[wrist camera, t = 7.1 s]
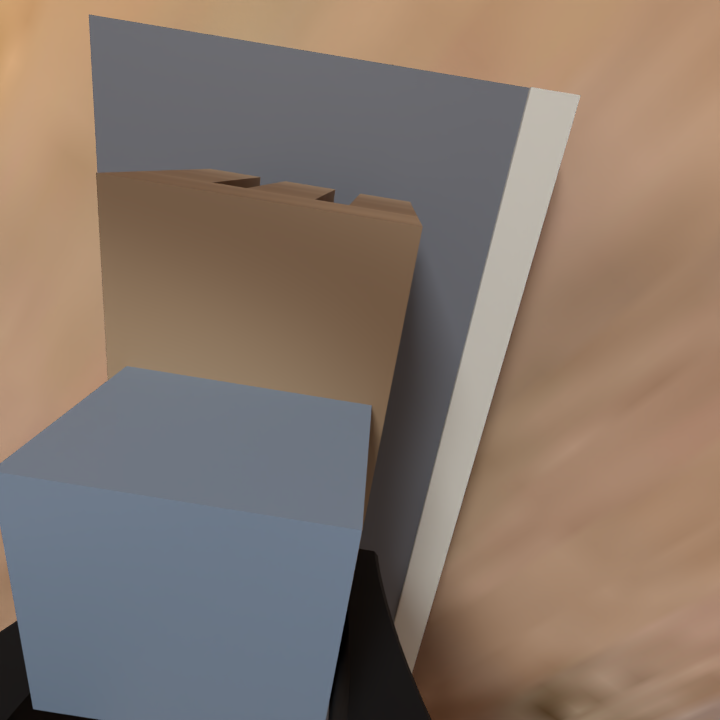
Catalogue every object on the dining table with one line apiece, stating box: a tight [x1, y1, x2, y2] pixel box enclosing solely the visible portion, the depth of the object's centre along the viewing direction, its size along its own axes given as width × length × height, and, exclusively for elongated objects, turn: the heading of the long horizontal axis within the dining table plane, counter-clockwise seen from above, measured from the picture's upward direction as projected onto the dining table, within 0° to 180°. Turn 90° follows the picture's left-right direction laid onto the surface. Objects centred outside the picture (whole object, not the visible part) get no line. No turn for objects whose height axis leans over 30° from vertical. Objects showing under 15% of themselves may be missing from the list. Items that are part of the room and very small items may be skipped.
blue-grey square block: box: [0, 366, 372, 720], centre depth 6 cm, size 4×4×2 cm
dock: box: [89, 15, 581, 720], centre depth 15 cm, size 22×10×2 cm, turn 171°
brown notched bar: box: [96, 169, 423, 607], centre depth 11 cm, size 17×4×4 cm, turn 171°
